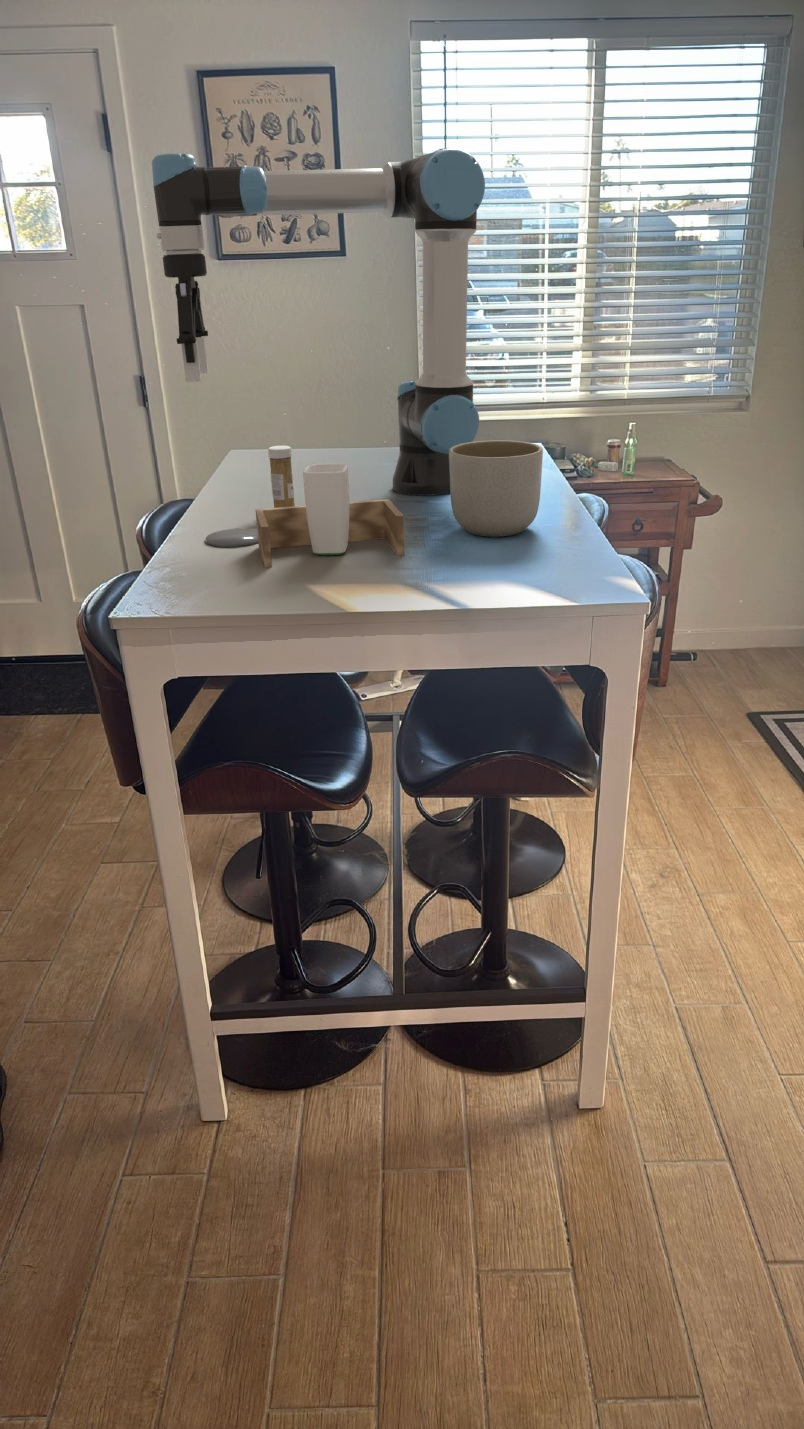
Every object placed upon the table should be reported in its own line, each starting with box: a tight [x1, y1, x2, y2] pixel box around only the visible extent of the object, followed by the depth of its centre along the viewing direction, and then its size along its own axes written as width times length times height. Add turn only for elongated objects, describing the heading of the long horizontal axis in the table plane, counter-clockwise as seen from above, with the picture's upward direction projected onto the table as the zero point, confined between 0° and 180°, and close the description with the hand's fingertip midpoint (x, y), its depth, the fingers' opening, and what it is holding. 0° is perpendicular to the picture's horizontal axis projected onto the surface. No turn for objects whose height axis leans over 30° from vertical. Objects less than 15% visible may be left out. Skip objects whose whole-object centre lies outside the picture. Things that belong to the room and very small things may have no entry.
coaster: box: [205, 528, 259, 548], centre depth 187 cm, size 11×11×1 cm
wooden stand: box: [255, 498, 405, 568], centre depth 176 cm, size 24×13×7 cm, turn 102°
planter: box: [449, 439, 544, 538], centre depth 184 cm, size 17×17×15 cm
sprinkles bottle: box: [267, 445, 296, 508], centre depth 201 cm, size 5×5×14 cm
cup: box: [302, 463, 350, 556], centre depth 174 cm, size 7×7×15 cm
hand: (197, 377), depth 187 cm, fingers open, 13 cm apart
